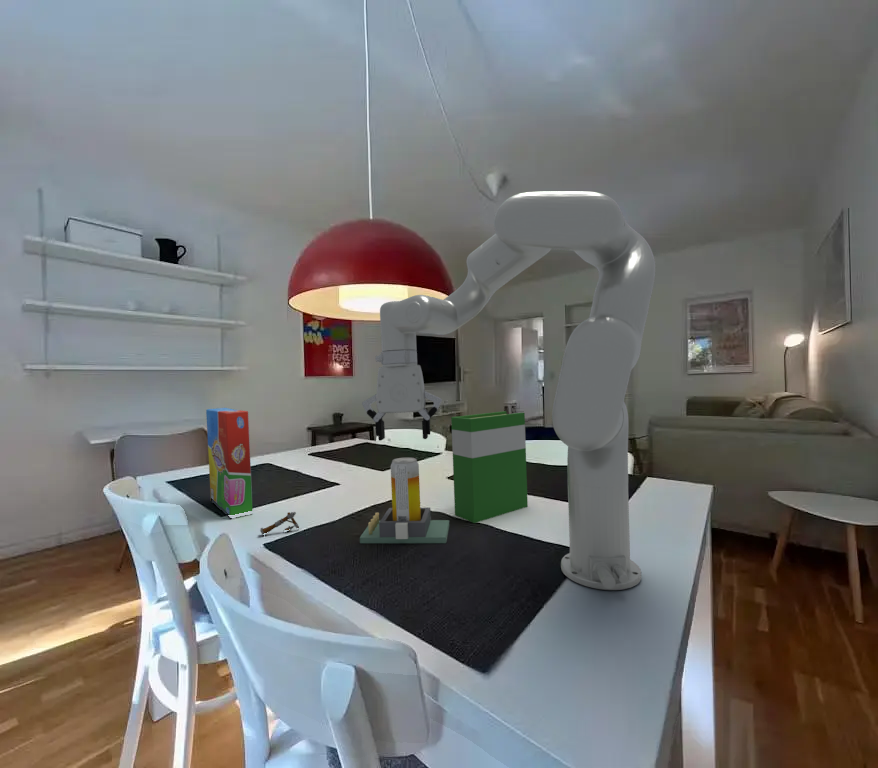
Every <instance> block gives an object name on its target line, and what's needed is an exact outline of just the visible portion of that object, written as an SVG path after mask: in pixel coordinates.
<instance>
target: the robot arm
mask: <svg viewBox="0 0 878 768" xmlns="http://www.w3.org/2000/svg"><path fill="white" fill-rule="evenodd" d="M493 228H494V232H495V233H494V234H493V235H492V236H490V237H489V238H488V239H486V240H485V241H484V242H483V243H482V244H480V245H479V246H478V247H477V248H476V249H474V250H473V251H471V252H470V253H469V254H468V255H467V258H466V267H467V275H466V277H465V280H464V281H463V283H462V284H461V285H460V286H459V287H458V288H456V289H455V291H453V292H452V293H451V294H449V295H448V296H446V297H445V298H443V299H442V298H441V299H440V298H438V297H434V296H430V295H425V294H417V295H413V296H409V297H408V298H404V299H402V300H393V301H388V302H384V303H383V304H381V306H380V309H379V319H380V320H379V321H380V322H379V323H380V325H379V326H380V343H381V352H380V354H379V355H376V356H375V362H377V363H381V365H382V366H380V367H379V366H378V370H377V378H376V394H374V395H372V396H370V397H369V398H367V399H365V400H364V401H362V402H361V405H362V407H363V408H364V410H365V412H366V415H368V416H369V417H370V418H371V420H372V421H373V422H374V423H375V436H376V437H378V441H382V440H384V439H386V434H385V421H384V420H383V418H384V417H385V415H386V414H398V413H399V414H401V413H402V414H403V413H404V414H405V413H419V415H420V416H421V417H422V421H421V425H422V426H421V428H422V439H423V440H427V439H428V437H429V435H431V418H433V416H434V415H435V414H436V413H437V412H438V410H439V408H440V405H441V403H442V401H443V400H442V398H440V397H439V396H436V395H434V394H432V393H430V392H428V391H426V390H425V383H424V382H425V381H424V376H423V371H422V366H421V365H420V364H418V353H417V352H418V350H417V333H420V334H430V335H439V336H444V335H448V334H451V333H453V332H455V331H457V330H458V329H459V328H461V327H462V326H464V325H466V324H467V323H468V322H469V321H471V320H473V319H474V318H475V317H477V315H479V313H480V312H481V311H483V309H484V308H485V306H486V305H487V304H488V303H489V301H490V299H491V298H492V296H493V295H494V294H495V292H497V291H498V290H499V289H501V288H502V287H503V286H505V284H508V283H509V281H511V280H513V279H514V278H515V277H517V276H518V275H519V274H521V273H522V272H523V271H525V270H527V269H528V268H529V267H532V265H533V264H535V263H536V262H537V261H539V260H540V259H542V258H543V257H545V256H546V255H547V254H548V253H550V251H551V250H560V251H561V250H563V251H572V252H574V253H575V254H576V255H577V256H578V257H580V259H582V260H583V261H584V262H586V263H587V264H589V265H591V266H593V267H594V268H596V269H597V271H598V272H597V273H598V280H597V283H596V286H595V288H594V289H595V290H594V293H593V296H592V304H591V309H590V312H589V317H588V318H587V319H584V320H583V321H582V322H581V323H579V324H578V325H577V326H576V327H575V328H574V330H572V332H571V334H570V335H569V337H568V340H567V343H566V345H565V349H564V354H563V357H562V362H561V367H560V371H559V375H558V376H559V377H558V380H557V386H556V390H555V396H554V399H553V405H552V410H551V422H552V427H553V430H554V432H555V434H556V436H557V437H558V439H559V440H560V441H561V442H562V443H563V444H564V445H566V446H567V460H566V461H567V462H566V463H567V468H566V469H567V499H568V508H567V509H568V531H569V534H568V535H569V553H566V554H565V555H564V556H563V557H562V558H561V561H560V568H561V572H562V573H563V575H565V576H566V577H567V578H568V579H569V580H571V581H573V582H574V583H577V584H579V585H581V586H585V587H588V588H592V589H597V590H603V591H621V590H628V589H630V588H633V587H635V586H636V585H638V584H640V582H641V580H642V571H641V568H640V566H639V565H638V564H637V563H636V562H635V561H634V560H632V559H631V541H630V540H631V539H630V508H629V507H630V506H629V458H628V457H629V412H628V408H627V407H628V406H627V405H626V402H625V398H626V393H627V389H628V384H629V381H630V377H631V374H632V370H633V369H634V367H635V366H636V365H637V363H638V361H639V358H640V356H641V350H642V342H643V336H644V331H645V328H646V323H647V318H648V315H649V314H648V313H649V309H650V303H651V297H652V293H653V289H654V284H655V279H656V259H655V256H654V253H653V250H652V248H651V246H650V244H649V243H648V241H647V240H646V238H645V237H643V236H642V234H641V233H639V232H637V231H636V230H635V229H634V228H633V227H631V226H630V225H629V224H628V222H627V219H626V218H625V216H624V214H623V211H622V209H621V208H620V205H619V204H618V203H617V201H615V200H614V198H612V197H610V196H609V195H607V194H604V193H601V192H596V191H527V192H520V193H516V194H513V195H512V196H510V197H508V198H507V199H505V200H504V201H503V202H502V203H501V204H500V205H499V207H497V210H496V212H495V215H494V218H493ZM426 399H427V400H429V401H430V402H433V405H432V407H431V409H430V410H427V409H426V402H427V401H426ZM375 402H376V409H377V412H376V410H374V409H373V408H372V404H374V403H375Z"/></svg>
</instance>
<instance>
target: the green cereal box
mask: <svg viewBox="0 0 878 768" xmlns="http://www.w3.org/2000/svg"><path fill="white" fill-rule="evenodd" d="M450 423H451V442H452V443H451V444H452V445H451V448H452V449H451V450H452V470H453V495H454V497H453V498H454V500H453V501H454V502H453V503H454V515H455V516H457V517H460V518H461V519H464V520H467V521H468V522H471V523H473V524H476V523H479V522H483V521H485V520H489V519H492V518H496V517H499V516H502V515H504V514H508V513H512V512H516V511H518V510H522V509H525V508H528V507H529V506H528V505H529V504H528V502H529V501H528V478H527V477H528V476H527V471H528V470H527V447H526V443H527V442H526V418H525V412H515V413H509V414H508V413H507V411H504V410H503V411H496V412H487V413H476V414H469V415H468V414H467V415H460V416H458V415H457V416H452V417H451V422H450Z"/></svg>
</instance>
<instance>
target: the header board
mask: <svg viewBox="0 0 878 768" xmlns="http://www.w3.org/2000/svg"><path fill="white" fill-rule="evenodd" d="M420 510H421V521H393V512H392V507H388V509H387V510H386V512H385V513H384V515H383V516H382V518H381V519H380V513H379V512H374V513H375V515H372V518H371V519H370V521H368V525H367V526H366V528H365V530H363V533H362V534H361V535H360V537H359V544H447V541H448V536H449V531H450V520H449V519H447V520H446V519H432V517H431V515H432V514H431V513H432V512H431V507H420Z"/></svg>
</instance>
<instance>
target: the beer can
mask: <svg viewBox="0 0 878 768" xmlns="http://www.w3.org/2000/svg"><path fill="white" fill-rule="evenodd" d="M390 482H391V483H390V485H391V486H390V487H391V506H392V507H391V508H392V512H393V521H421V510H420V508H421V492H420V490H421V488H420V467H419V463H418V459H417V458H414V457H399V458H394V459H392V461H391V464H390Z"/></svg>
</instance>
